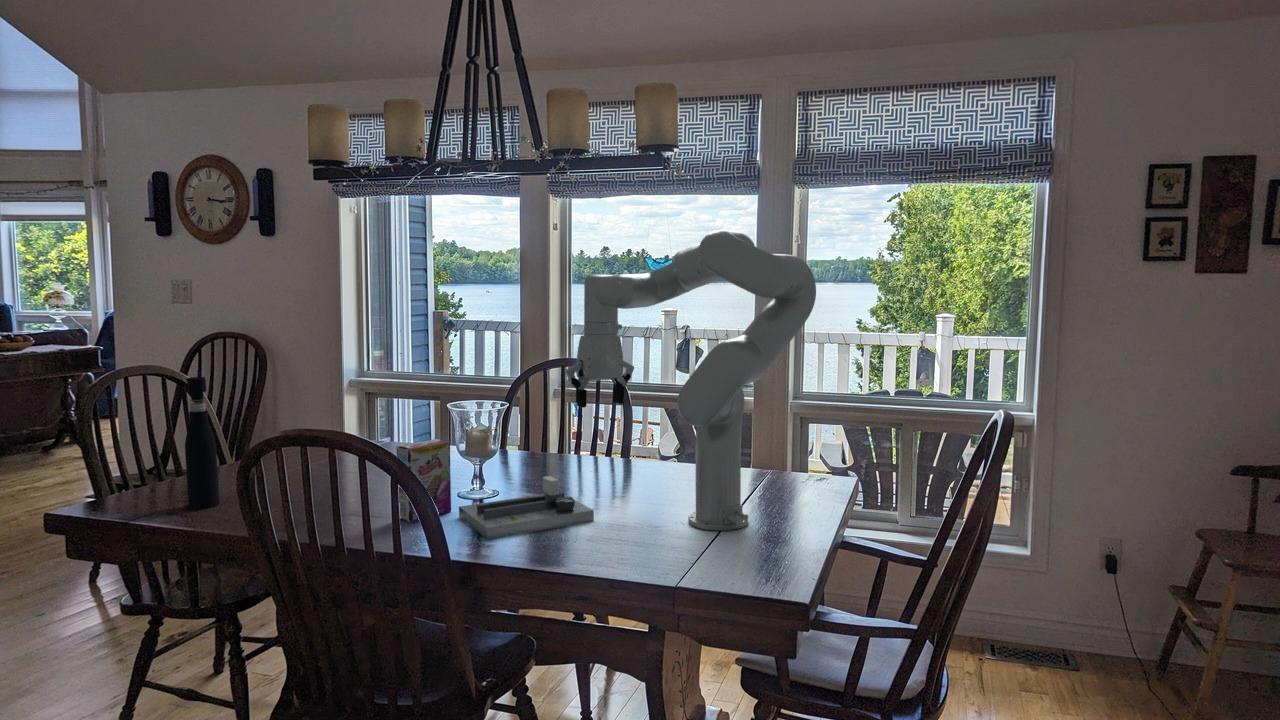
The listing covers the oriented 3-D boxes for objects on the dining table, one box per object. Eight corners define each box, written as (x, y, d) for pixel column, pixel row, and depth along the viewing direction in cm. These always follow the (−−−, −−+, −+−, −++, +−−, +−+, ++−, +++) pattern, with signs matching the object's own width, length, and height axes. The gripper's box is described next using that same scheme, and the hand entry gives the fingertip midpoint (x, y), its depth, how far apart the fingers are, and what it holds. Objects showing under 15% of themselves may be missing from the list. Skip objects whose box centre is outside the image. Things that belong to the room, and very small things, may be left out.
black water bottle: (206, 509, 195) (198, 379, 192) (182, 508, 196) (173, 379, 193) (225, 502, 201) (217, 376, 198) (202, 501, 203) (193, 376, 199)
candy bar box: (411, 524, 182) (408, 448, 181) (397, 519, 186) (394, 445, 184) (453, 512, 191) (450, 440, 189) (439, 508, 194) (436, 437, 193)
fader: (559, 505, 186) (558, 480, 186) (550, 506, 185) (550, 481, 185) (551, 500, 190) (550, 476, 190) (542, 501, 189) (542, 477, 189)
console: (593, 520, 183) (593, 500, 183) (487, 539, 171) (486, 517, 171) (559, 501, 199) (558, 482, 198) (459, 517, 187) (458, 497, 187)
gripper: (624, 327, 199) (624, 399, 201) (558, 329, 189) (558, 405, 191) (642, 329, 193) (641, 404, 195) (575, 332, 183) (574, 410, 185)
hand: (600, 404), depth 193 cm, fingers open, 9 cm apart
